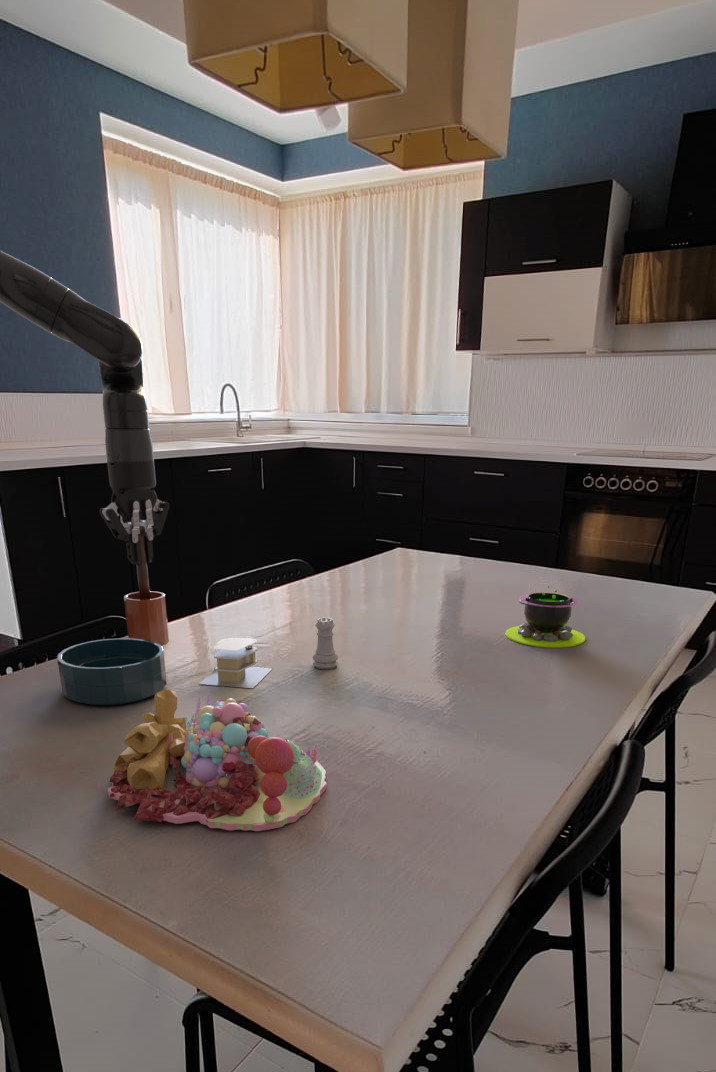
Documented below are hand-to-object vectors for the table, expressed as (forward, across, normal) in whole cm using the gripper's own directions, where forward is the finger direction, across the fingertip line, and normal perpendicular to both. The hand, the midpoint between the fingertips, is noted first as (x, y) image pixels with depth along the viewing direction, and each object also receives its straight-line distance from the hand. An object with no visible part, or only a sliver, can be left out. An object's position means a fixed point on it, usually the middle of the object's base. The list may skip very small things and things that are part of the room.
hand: (141, 562), depth 134 cm
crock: (+15, 0, 0) cm, 15 cm away
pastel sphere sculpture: (+15, +31, +50) cm, 61 cm away
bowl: (+15, +19, +15) cm, 28 cm away
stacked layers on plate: (+15, +3, +25) cm, 29 cm away
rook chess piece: (+15, -10, +33) cm, 38 cm away
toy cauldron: (+15, -50, +55) cm, 76 cm away
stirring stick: (+13, 0, 0) cm, 13 cm away
